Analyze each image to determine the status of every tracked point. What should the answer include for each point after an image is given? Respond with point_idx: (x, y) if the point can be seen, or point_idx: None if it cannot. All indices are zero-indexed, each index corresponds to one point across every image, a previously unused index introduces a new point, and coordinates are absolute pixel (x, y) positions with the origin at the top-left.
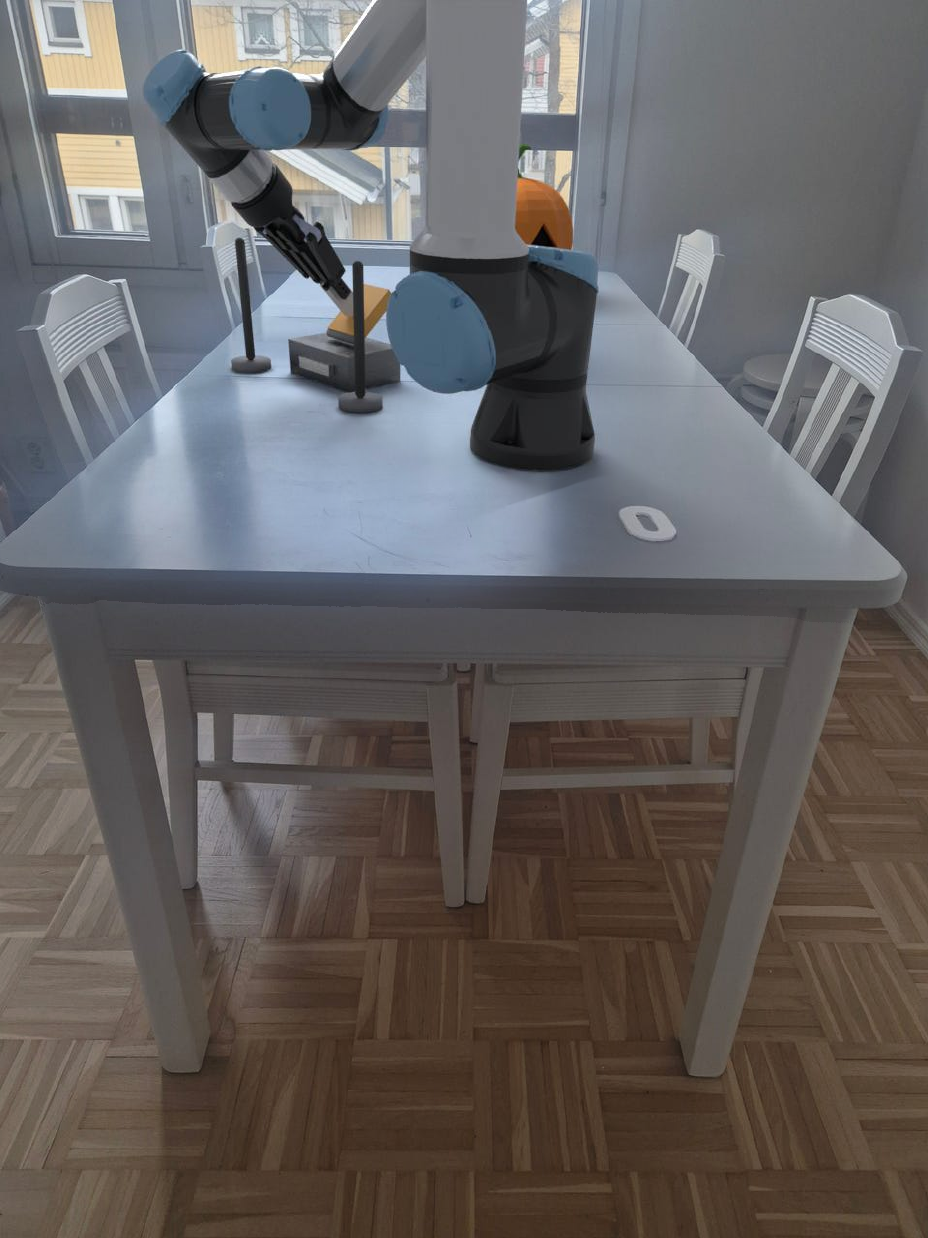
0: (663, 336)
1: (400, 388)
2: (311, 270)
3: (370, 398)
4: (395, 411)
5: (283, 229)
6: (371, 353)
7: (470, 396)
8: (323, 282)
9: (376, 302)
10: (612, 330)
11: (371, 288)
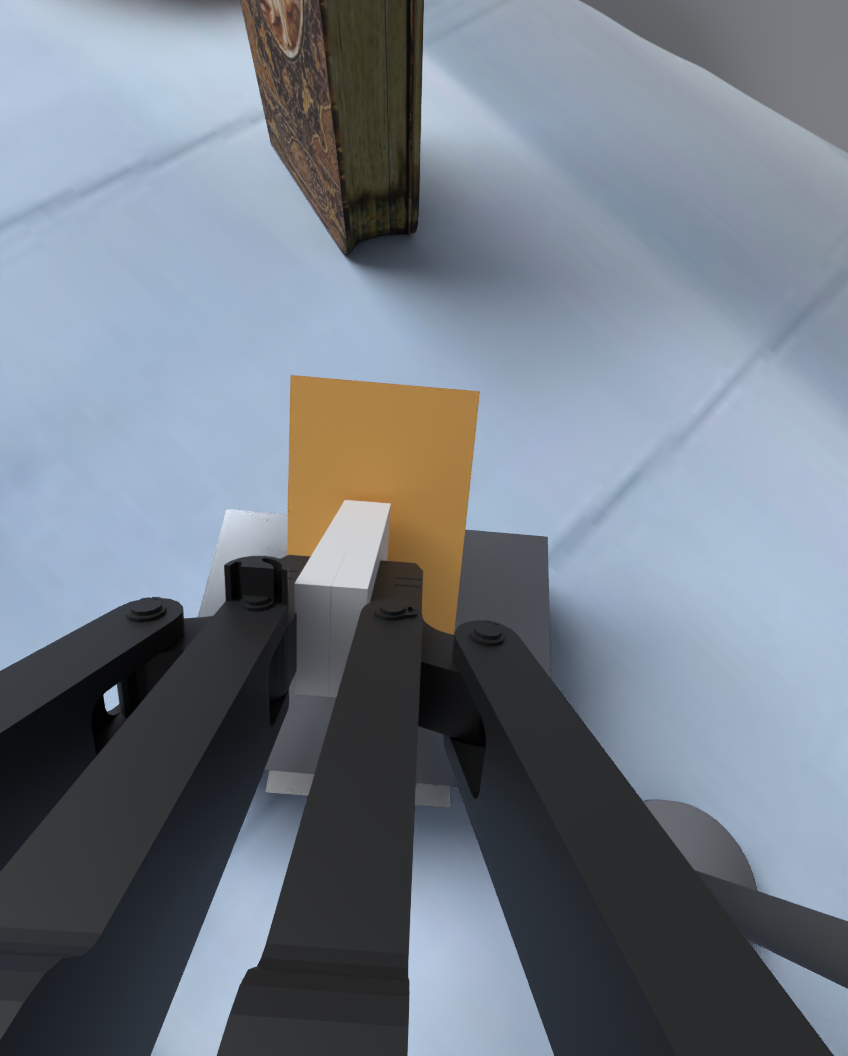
0: (610, 22)
1: (581, 630)
2: (259, 763)
3: (705, 862)
4: (765, 826)
5: None
6: (549, 668)
7: (749, 553)
8: (307, 672)
9: (457, 474)
10: (520, 33)
11: (369, 399)
